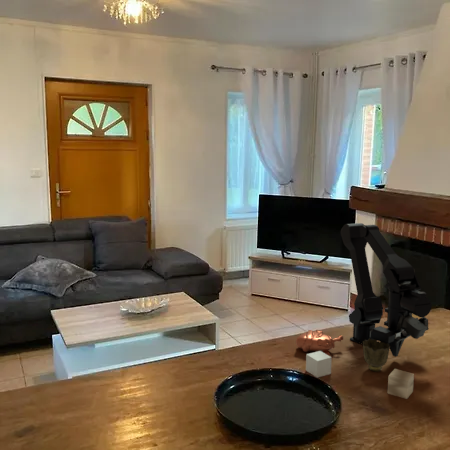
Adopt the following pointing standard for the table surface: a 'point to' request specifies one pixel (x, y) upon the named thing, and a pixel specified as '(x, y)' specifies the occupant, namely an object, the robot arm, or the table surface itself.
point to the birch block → (400, 383)
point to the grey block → (318, 364)
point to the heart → (316, 341)
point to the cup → (375, 353)
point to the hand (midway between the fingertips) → (395, 356)
